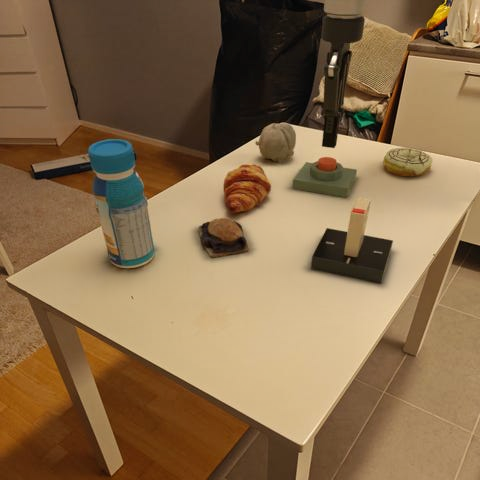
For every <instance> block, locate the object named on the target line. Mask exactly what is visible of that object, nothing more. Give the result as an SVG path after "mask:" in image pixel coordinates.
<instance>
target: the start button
mask: <svg viewBox="0 0 480 480" xmlns="http://www.w3.org/2000/svg"><path fill="white" fill-rule="evenodd" d="M317 161H318V166H317V168H318V169H319V170H323V171H333V170H335V169H336V162H337V161H338V160H337V159H336V158H335V157H330V156H322V157H320V158H318V160H317ZM337 163H338V162H337Z"/></svg>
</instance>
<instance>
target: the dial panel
mask: <svg viewBox="0 0 480 480" xmlns="http://www.w3.org/2000/svg"><path fill="white" fill-rule="evenodd" d="M347 232H348V231H344V230H340V229H334V228H328V227H326V229H325V231H324V232H323V234H322V236H321V239H320V240H319V243H318V244H317V246H316V248H315V251H314V252H313V254H312V255H311V263H310V269H312V270H317V271H321V272H326V273H331V274H335V275H339V276H345V277H349V278H354V279H358V280H362V281H368V282H372V283H377V284H382V283H383V279H384V275H385V272H386V269H387V265H388V263H389V258H390V256H391V251H392V247H393V243H394V240H393V239H387V238H381V237H376V236H372V235H367V234H364V239H363V242H362V245H361V248H360V250H359V253H358V255H357V257H352V256H347V255H344V251H345V245H346V239H347Z"/></svg>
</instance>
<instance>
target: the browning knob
mask: <svg viewBox="0 0 480 480" xmlns="http://www.w3.org/2000/svg"><path fill="white" fill-rule="evenodd" d="M371 201H372V199H368V198H364V197H357V198H356V200H355V202H354V205H353V206H352V209H351V211H350V215H349V221H348V226H347V227H348V228H347V231H346V232H347V239H346V245H345V251H344V255H347V256H352V257H357V255H358V253H359V250H360V248H361V245H362V242H363V239H364V235H365V233H366V229H367V228H366V227H367V223H368V218H369V217H368V216H369V213H370V206H371Z"/></svg>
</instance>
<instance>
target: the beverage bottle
mask: <svg viewBox="0 0 480 480" xmlns="http://www.w3.org/2000/svg"><path fill="white" fill-rule="evenodd" d="M87 154H88V159H89V163H90V167H91V169H92V171H93V172H94V174H95V175H94V178H93V182H92V195H93V197H94V198H95V203H94V205H95V211H96V213H97V215H98V219H99V222H100V227H101V230H102V234H103V238H104V242H105V246H106V250H107V256H108V259H109V262H110V263H111V264H113V266H116V267H118V268H121V269H134V268H135V269H136V268H139V267H142V266H144V265H146V264H148V263H149V262H151V261H152V259H153V258H154V257H155V253H156V251H155V245H154V240H153V234H152V228H151V220H150V214H149V209H148V206H149V204H148V203H149V202H148V197H147V196H146V195H147V194H145V193H144V191H145V184H144V181H143V180H142V178H141V176H140V175H139V174H138V172H137V171H136V170H135V169H134V168H135V167H136V157H135V151H134V147H133V144H132V143H131V142H129V141H128V140H125V139H119V138H109V139H104V140H100V141H97V142H93V143H92V144H91V145H90V146H88V149H87Z"/></svg>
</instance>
